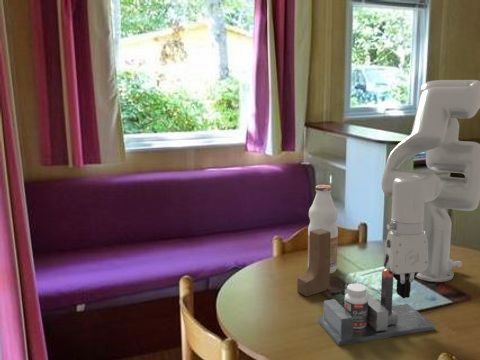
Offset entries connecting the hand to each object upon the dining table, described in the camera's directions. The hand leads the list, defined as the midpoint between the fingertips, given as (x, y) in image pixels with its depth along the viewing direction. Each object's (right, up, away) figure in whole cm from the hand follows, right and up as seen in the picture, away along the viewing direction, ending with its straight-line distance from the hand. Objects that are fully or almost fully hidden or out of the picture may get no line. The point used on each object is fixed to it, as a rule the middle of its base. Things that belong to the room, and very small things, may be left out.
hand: (403, 295), depth 124 cm
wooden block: (-20, -4, +20) cm, 29 cm away
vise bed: (-7, -8, 0) cm, 10 cm away
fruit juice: (-14, 0, +36) cm, 39 cm away
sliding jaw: (-6, -6, 0) cm, 9 cm away
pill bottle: (-12, -7, -2) cm, 14 cm away
